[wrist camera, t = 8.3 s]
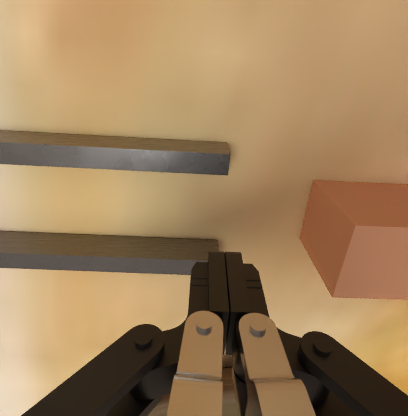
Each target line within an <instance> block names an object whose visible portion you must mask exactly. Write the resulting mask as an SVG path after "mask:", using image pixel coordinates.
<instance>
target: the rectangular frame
mask: <svg viewBox="0 0 408 416" xmlns="http://www.w3.org/2000/svg"><path fill="white" fill-rule="evenodd" d="M229 160H230V153H229V149H228V146H227V143H226V142H209V141H190V140H172V139H153V138H135V137H116V136H98V135H79V134H61V133H42V132H24V131H5V130H0V164H13V165H33V166H53V167H73V168H93V169H112V170H132V171H152V172H172V173H192V174H212V175H228V170H229ZM208 251H218V241H217V240H203V239H179V238H156V237H132V236H109V235H85V234H61V233H38V232H14V231H0V268H21V269H47V270H73V271H99V272H126V273H152V274H178V275H191V269H192V267H193V266H194V265H195V263H196V262H207V261H208Z"/></svg>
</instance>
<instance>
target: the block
mask: <svg viewBox="0 0 408 416" xmlns="http://www.w3.org/2000/svg"><path fill="white" fill-rule="evenodd" d="M300 240H301V242H302V243H303V245H304V247H305V249H306V251H307V252H308V254H309V256H310V258H311V260H312V261H313V263H314V265H315V267H316V269H317V271H318V272H319V274H320V276H321V278H322V280H323V281H324V283H325V285H326V287H327V289H328V290H329V292H330V294H331V296H332V297H342V298H373V299H404V300H408V184H387V183H365V182H343V181H321V180H313V183H312V188H311V192H310V196H309V200H308V205H307V209H306V213H305V218H304V222H303V226H302V230H301V235H300Z"/></svg>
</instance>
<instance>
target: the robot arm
mask: <svg viewBox="0 0 408 416" xmlns="http://www.w3.org/2000/svg"><path fill="white" fill-rule="evenodd" d="M225 350H226V354H227V355H232V358H233V368H232V379H233V386H234V392H235V399H236V405H237V412H238V416H408V395H406V394H405V393H404V392H402V391H401V390H400V389H398V388H397V387H396V386H394V385H393V384H392V383H391V382H389V381H388V380H387V379H385V378H384V377H383V376H381V375H380V374H379V373H378V372H376V371H375V370H374V369H372V368H371V367H370V366H368V365H367V364H366V363H365V362H363V361H362V360H361V359H359V358H358V357H357V356H355V355H354V354H353V353H352V352H350V351H349V350H348V349H346V348H345V347H344V346H342V345H341V344H340V343H339V342H337V341H336V340H335V339H333V338H332V337H330V336H329V335H327V334H325V333H322V332H317V331H312V332H308V333H306V334H304V336H303V337H302V338H300V337H297V336H294V335H291V334H288V333H285V332H283V331H281V330H280V329H278V328H277V327H276V325H275V323H274V322H273V321H272V320H271V319H270V317H269V314H268V310H267V306H266V301H265V297H264V293H263V289H262V284H261V280H260V276H259V272H258V270H257V269H256V268H255V267H254V266H253V264H243V261H242V255H241V252H225V254H224V252H218V251H208V261H207V262H196V263H195V265H194V266H193V267H192V269H191V281H190V295H189V309H188V316H187V318H186V320H185V321H184V322H183V323H182V324H181V325H180V326H178V327H176V328H174V329H170V330H167V331H163V332H162V331H161V330H160V329H159V328H158V327H156V326H154V325H151V324H142V325H138V326H135V327H133V328H132V329H130V330H129V331H128V332H127V333H125V334H124V335H123V336H122V337H120V338H119V339H118V340H116V341H115V342H114V343H113V344H111V345H110V346H109V347H108V348H106V349H105V350H104V351H103V352H101V353H100V354H99V355H97V356H96V357H95V358H94V359H92V360H91V361H90V362H89V363H87V364H86V365H85V366H84V367H82V368H81V369H80V370H78V371H77V372H76V373H75V374H73V375H72V376H71V377H70V378H68V379H67V380H66V381H65V382H63V383H62V384H61V385H59V386H58V387H57V388H56V389H54V390H53V391H52V392H51V393H49V394H48V395H47V396H46V397H44V398H43V399H42V400H40V401H39V402H38V403H37V404H35V405H34V406H33V407H32V408H30V409H29V410H28V411H26V412H25V413H24V414H23V415H21V416H148V414H149V413H150V412H151V411H152V410H153V409H154V408H155V407H156V406H157V404H158V403H159V402H160V401H161V400H162V398H163V396H164V395H168V394H171V395H170V400H169V406H168V411H167V416H222V392H223V380H222V355H223V354H224V351H225Z"/></svg>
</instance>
